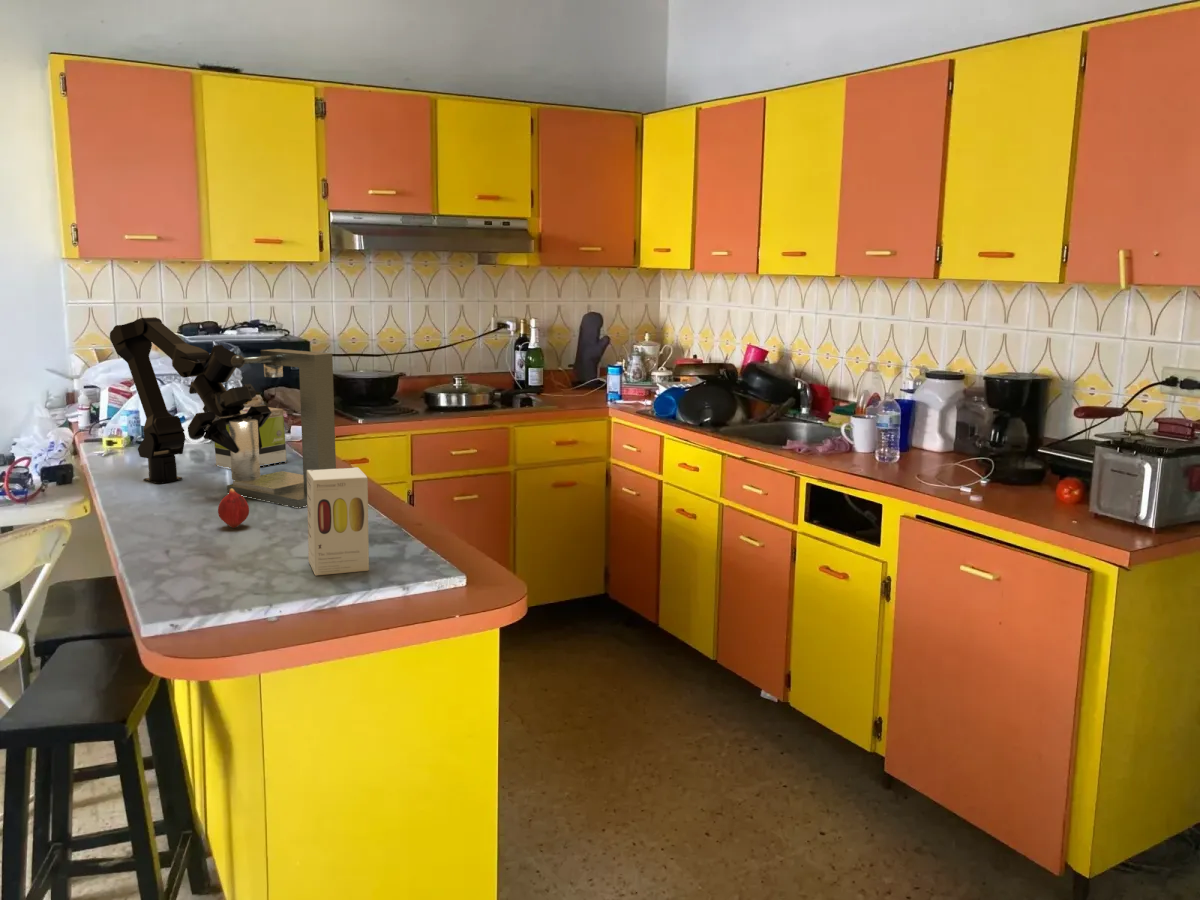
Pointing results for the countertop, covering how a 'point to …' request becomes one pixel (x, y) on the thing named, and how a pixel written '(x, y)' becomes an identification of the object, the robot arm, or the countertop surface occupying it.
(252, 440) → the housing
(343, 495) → the supplement box
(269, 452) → the tea box
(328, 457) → the arbor press
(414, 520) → the countertop surface
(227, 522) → the onion
